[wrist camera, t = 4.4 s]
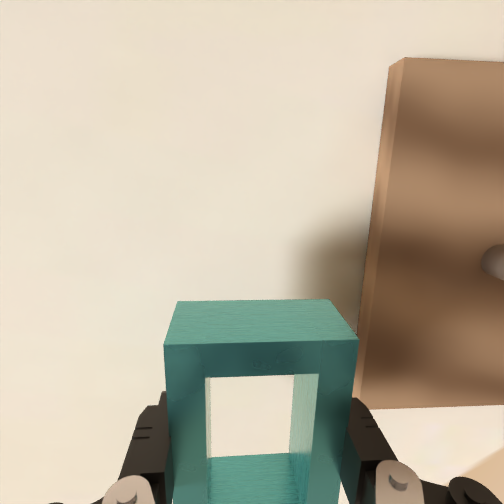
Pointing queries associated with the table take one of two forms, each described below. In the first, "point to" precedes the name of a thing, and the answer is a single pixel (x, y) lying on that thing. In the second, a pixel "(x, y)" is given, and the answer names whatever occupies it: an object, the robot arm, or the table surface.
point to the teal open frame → (260, 364)
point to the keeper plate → (436, 241)
